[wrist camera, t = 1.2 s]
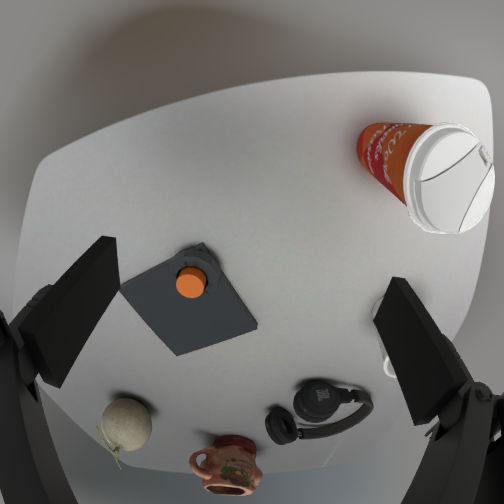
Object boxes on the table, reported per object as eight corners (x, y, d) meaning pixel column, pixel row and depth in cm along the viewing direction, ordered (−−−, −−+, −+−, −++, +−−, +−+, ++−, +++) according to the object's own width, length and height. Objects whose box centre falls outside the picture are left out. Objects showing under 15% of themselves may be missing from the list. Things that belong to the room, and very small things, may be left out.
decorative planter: (179, 433, 58) (170, 482, 45) (208, 419, 53) (200, 476, 41) (244, 457, 63) (242, 501, 51) (277, 444, 59) (278, 494, 46)
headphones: (318, 409, 37) (393, 411, 44) (307, 370, 44) (380, 382, 51) (259, 448, 44) (335, 448, 51) (254, 415, 51) (327, 421, 58)
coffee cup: (378, 97, 26) (463, 99, 12) (423, 149, 28) (511, 186, 15) (330, 151, 29) (387, 188, 16) (379, 199, 31) (448, 264, 18)
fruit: (126, 382, 48) (103, 445, 35) (166, 412, 53) (152, 472, 39) (99, 391, 51) (77, 446, 38) (137, 418, 56) (121, 471, 42)
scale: (118, 281, 37) (110, 293, 35) (204, 236, 34) (199, 248, 31) (178, 351, 43) (174, 364, 40) (261, 322, 40) (261, 337, 37)
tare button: (174, 272, 33) (170, 281, 32) (196, 262, 32) (193, 270, 31) (189, 293, 34) (186, 301, 33) (211, 283, 34) (209, 292, 32)
